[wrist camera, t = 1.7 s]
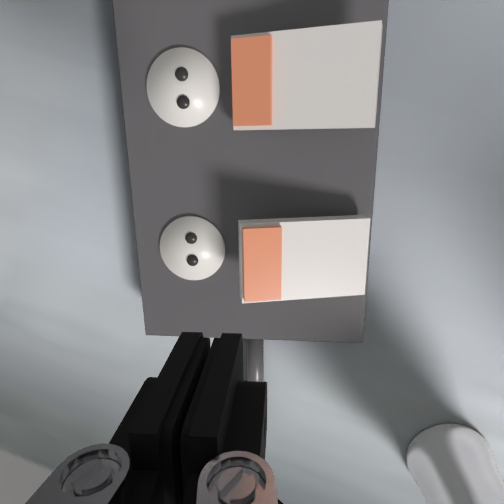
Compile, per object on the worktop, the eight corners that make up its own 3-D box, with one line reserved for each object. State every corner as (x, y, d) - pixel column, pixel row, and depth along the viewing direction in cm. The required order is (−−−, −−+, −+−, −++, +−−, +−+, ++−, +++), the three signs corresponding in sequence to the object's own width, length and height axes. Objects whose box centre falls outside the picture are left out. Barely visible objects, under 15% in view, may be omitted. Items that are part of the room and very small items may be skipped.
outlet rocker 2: (362, 214, 22) (372, 219, 21) (357, 288, 23) (366, 296, 22) (238, 220, 21) (241, 225, 20) (239, 296, 22) (242, 305, 21)
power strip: (394, -245, 19) (418, -336, 15) (348, 424, 30) (356, 464, 26) (114, -216, 20) (76, -293, 17) (168, 413, 31) (152, 450, 28)
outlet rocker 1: (382, 25, 18) (381, 18, 17) (375, 127, 19) (373, 127, 18) (238, 40, 20) (228, 34, 19) (240, 130, 21) (231, 130, 20)
